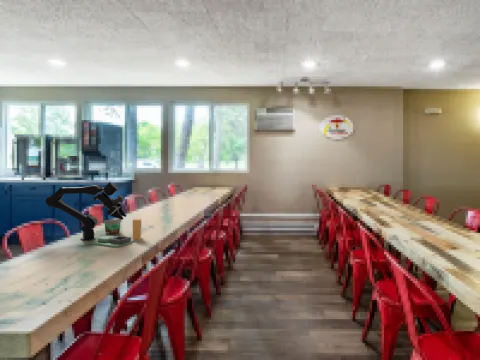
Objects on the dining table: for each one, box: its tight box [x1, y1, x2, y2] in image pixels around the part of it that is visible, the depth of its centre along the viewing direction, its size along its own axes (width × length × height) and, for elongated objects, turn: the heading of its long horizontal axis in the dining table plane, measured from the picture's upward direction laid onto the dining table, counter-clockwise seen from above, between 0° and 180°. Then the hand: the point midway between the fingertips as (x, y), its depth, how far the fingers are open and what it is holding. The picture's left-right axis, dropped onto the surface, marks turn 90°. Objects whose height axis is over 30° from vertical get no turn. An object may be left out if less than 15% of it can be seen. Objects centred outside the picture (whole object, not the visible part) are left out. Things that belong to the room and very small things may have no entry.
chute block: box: [132, 218, 142, 240], centre depth 204 cm, size 5×5×12 cm
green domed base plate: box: [89, 235, 136, 248], centre depth 193 cm, size 20×15×4 cm
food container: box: [103, 218, 122, 236], centre depth 216 cm, size 12×6×10 cm, turn 143°
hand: (124, 217), depth 202 cm, fingers open, 9 cm apart
